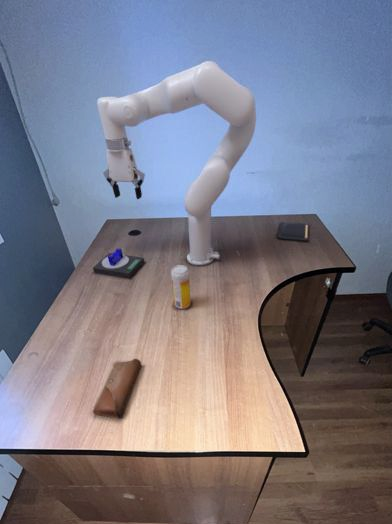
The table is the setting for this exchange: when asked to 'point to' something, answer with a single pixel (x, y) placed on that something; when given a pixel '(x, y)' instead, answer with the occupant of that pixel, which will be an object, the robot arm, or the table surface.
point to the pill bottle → (180, 286)
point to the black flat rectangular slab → (293, 231)
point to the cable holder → (115, 257)
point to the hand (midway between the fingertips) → (128, 197)
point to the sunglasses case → (117, 389)
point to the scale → (119, 266)
